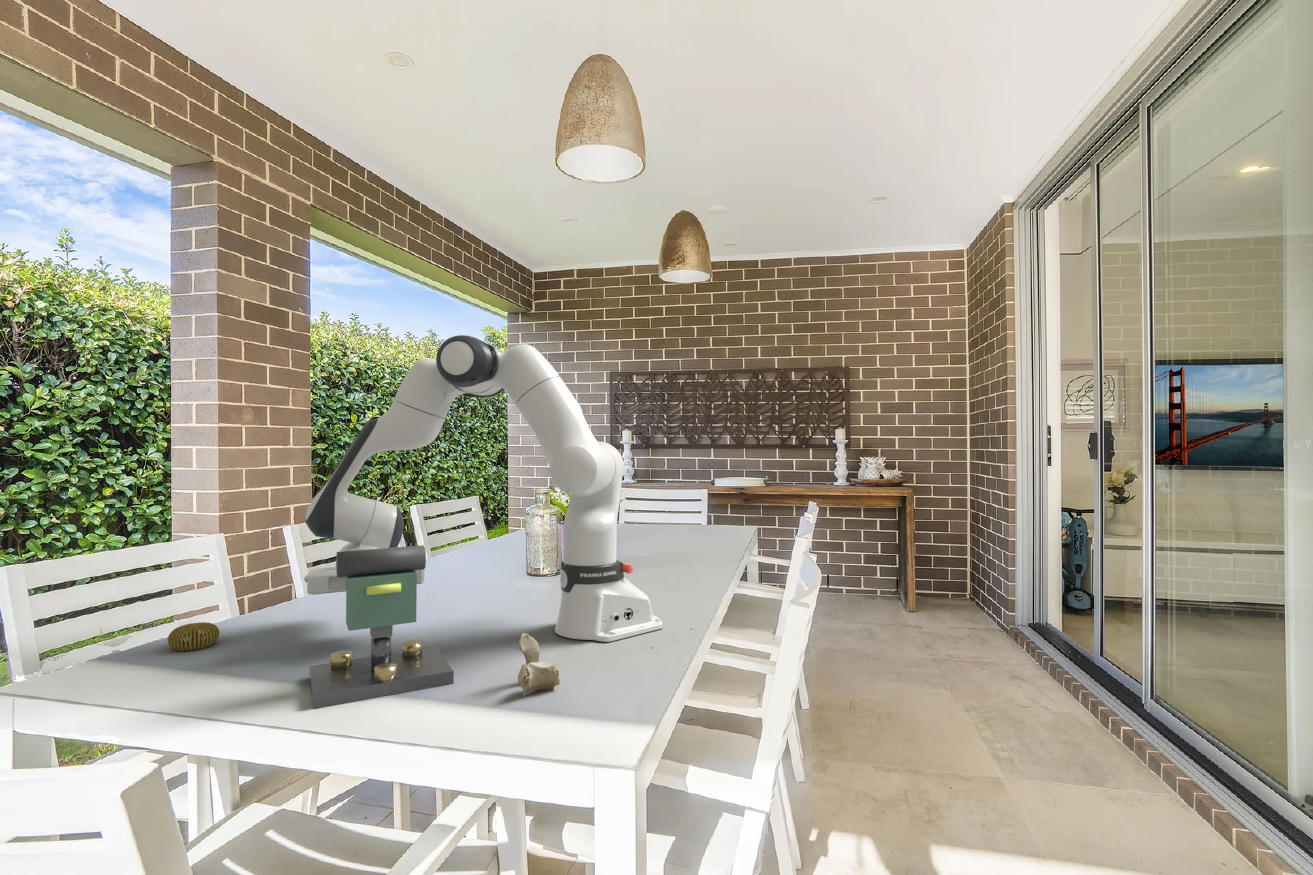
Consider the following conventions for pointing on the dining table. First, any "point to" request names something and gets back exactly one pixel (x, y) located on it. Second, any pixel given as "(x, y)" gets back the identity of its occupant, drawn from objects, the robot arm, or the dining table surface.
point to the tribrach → (378, 673)
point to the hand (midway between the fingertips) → (371, 585)
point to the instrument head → (380, 587)
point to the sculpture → (193, 636)
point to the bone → (535, 668)
